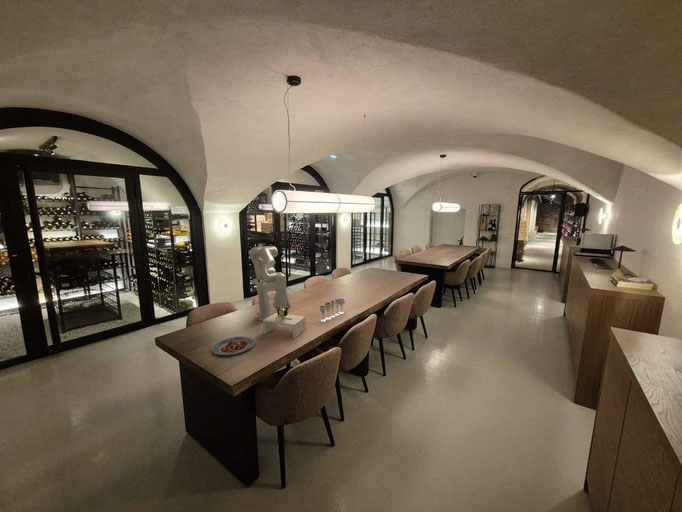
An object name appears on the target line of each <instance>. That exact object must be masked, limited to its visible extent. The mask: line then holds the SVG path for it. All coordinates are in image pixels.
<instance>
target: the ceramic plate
mask: <svg viewBox="0 0 682 512" xmlns="http://www.w3.org/2000/svg"><path fill="white" fill-rule="evenodd" d="M254 344H255V340H254V339H253V338H252V337H249V336H243V335H242V336H232V337H228V338H225V339H221V340H220V341H218V342H216V343H215V344H214V345H213V346H212V348H211V350H212V352H213V353H214V354H216V355H221V356H233V355H236V354H237V355H238V354H240V353H243V352H246V351H248V350H250V349H252V347H253V346H254Z"/></svg>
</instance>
